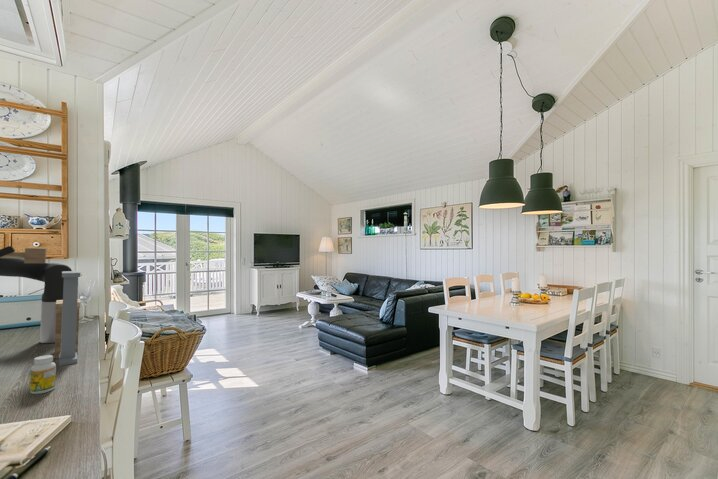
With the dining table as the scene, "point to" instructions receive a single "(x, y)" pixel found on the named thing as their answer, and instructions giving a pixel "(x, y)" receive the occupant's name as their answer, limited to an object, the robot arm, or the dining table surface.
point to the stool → (59, 326)
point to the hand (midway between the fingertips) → (12, 248)
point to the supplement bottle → (43, 375)
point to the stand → (69, 318)
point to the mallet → (29, 255)
